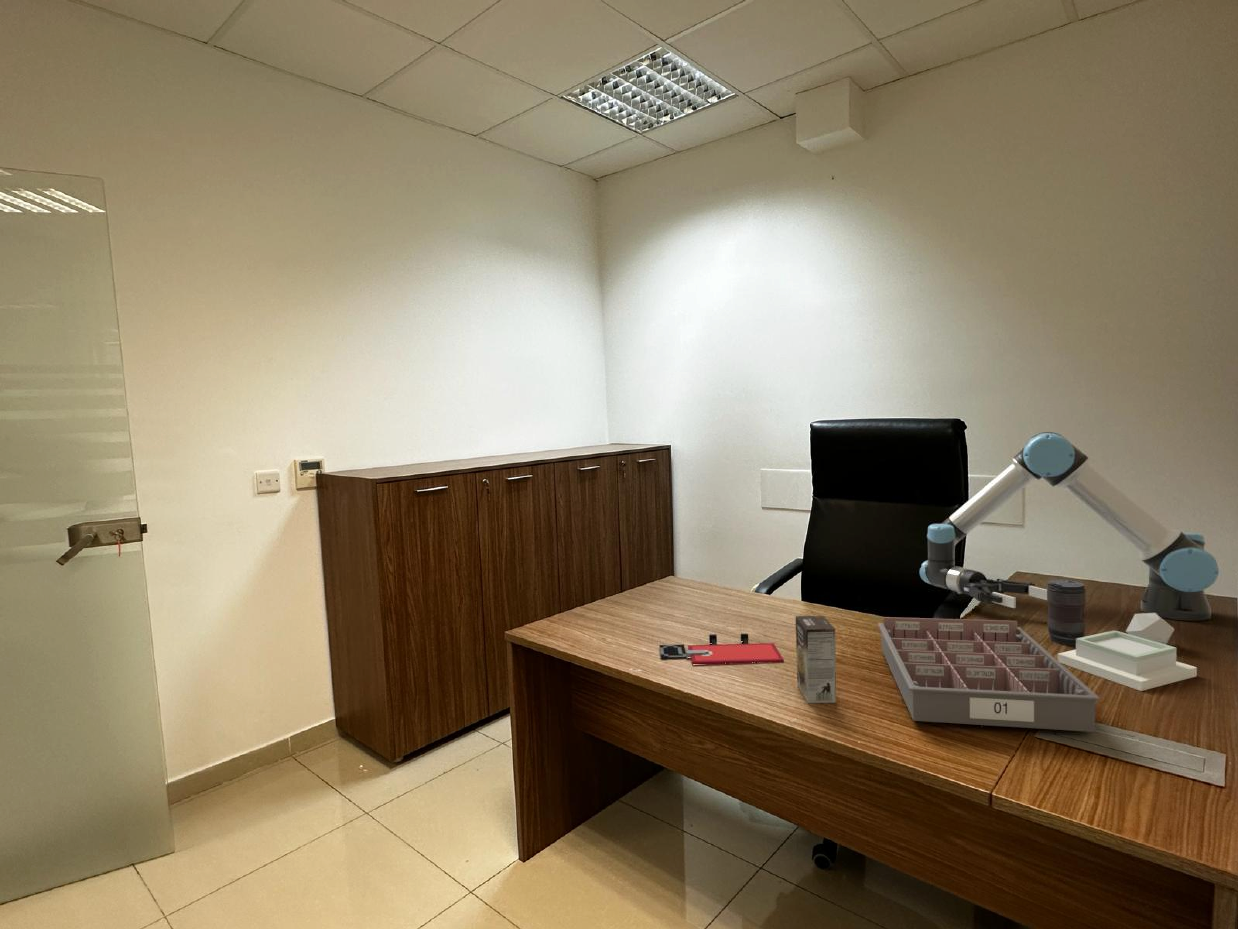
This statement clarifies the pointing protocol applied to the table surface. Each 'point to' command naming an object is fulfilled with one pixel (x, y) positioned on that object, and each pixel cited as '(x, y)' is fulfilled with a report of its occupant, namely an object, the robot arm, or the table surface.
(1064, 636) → the camera lens
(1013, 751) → the table surface
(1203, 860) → the table surface
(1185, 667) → the plinth
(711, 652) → the red board with handle
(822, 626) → the coffee box
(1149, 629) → the white polyhedron
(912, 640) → the organizer tray
